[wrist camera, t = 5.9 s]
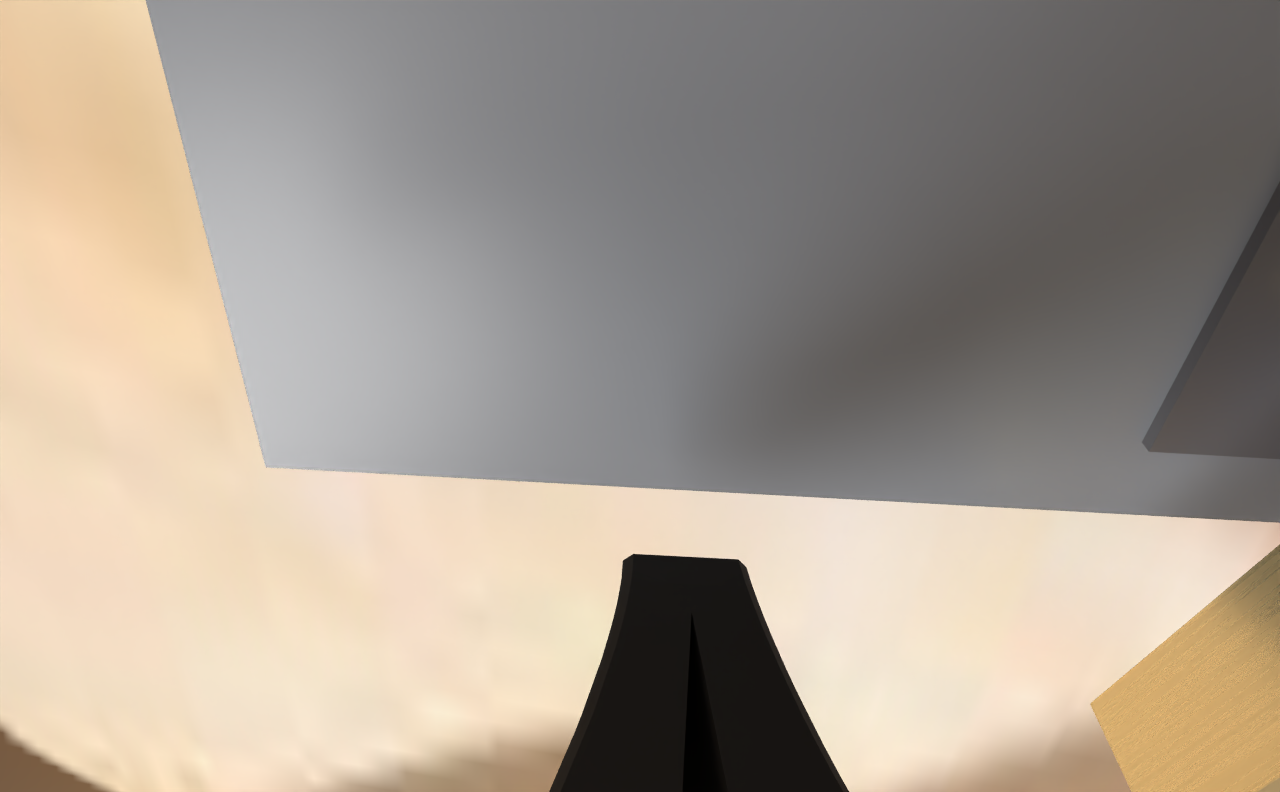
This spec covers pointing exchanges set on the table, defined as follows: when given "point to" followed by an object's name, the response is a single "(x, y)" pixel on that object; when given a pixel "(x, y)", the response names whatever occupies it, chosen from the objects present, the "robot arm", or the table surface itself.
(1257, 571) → the key
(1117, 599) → the table surface
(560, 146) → the case
